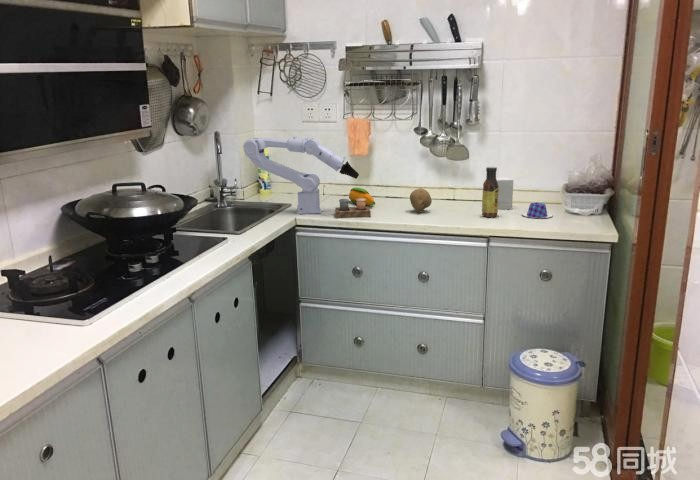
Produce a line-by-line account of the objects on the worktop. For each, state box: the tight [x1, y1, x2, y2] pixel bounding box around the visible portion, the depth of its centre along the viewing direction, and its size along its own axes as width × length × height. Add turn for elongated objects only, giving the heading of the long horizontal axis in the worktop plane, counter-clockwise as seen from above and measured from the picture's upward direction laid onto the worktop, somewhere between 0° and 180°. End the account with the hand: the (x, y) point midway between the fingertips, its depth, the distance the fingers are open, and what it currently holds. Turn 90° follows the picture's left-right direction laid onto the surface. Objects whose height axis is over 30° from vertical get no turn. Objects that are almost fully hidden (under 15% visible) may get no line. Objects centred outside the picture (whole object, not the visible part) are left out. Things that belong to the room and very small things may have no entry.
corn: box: [348, 187, 376, 206], centre depth 264 cm, size 7×8×20 cm
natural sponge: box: [409, 187, 433, 213], centre depth 248 cm, size 9×9×10 cm
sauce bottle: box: [481, 166, 499, 218], centre depth 237 cm, size 6×6×20 cm
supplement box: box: [496, 176, 514, 210], centre depth 253 cm, size 7×7×13 cm
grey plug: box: [338, 198, 350, 210], centre depth 244 cm, size 4×4×4 cm
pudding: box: [521, 202, 553, 219], centre depth 238 cm, size 12×12×5 cm
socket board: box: [334, 205, 372, 219], centre depth 245 cm, size 14×9×2 cm, turn 94°
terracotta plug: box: [356, 198, 366, 210], centre depth 244 cm, size 4×4×4 cm
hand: (357, 176), depth 246 cm, fingers open, 7 cm apart
